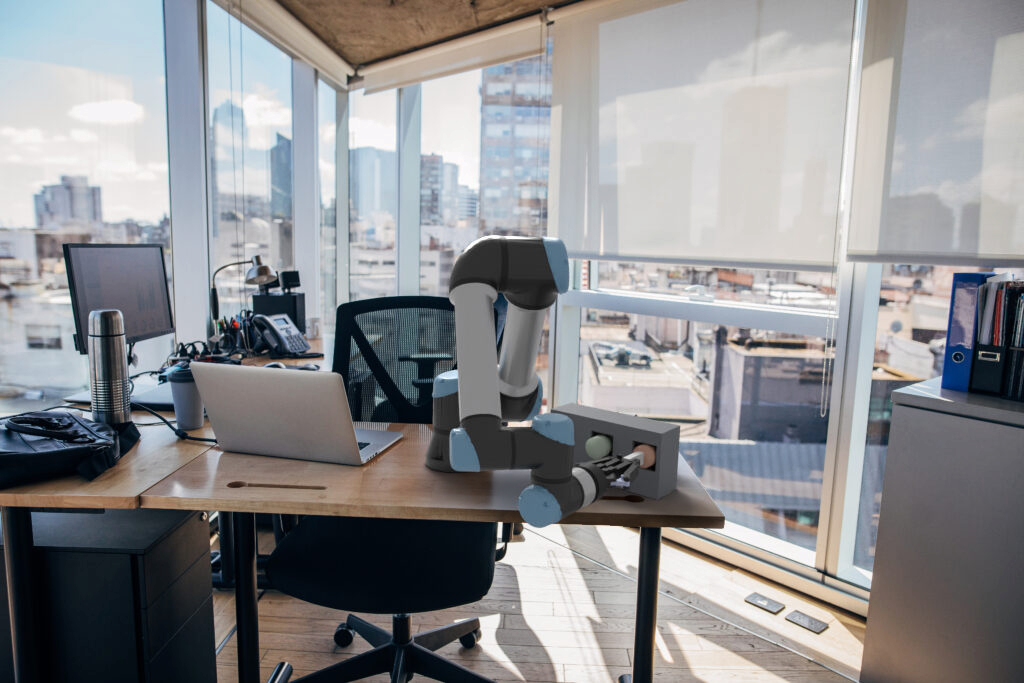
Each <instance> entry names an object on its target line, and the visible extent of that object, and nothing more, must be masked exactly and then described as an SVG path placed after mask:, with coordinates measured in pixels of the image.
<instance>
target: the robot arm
mask: <svg viewBox="0 0 1024 683" xmlns="http://www.w3.org/2000/svg"><path fill="white" fill-rule="evenodd" d="M569 287H570V263H569V254H568V250H567V247H566V244H565V243H564V241H563V240H562V239H561V238H558V237H551V236H545V235H542V236H541V237H539V236H536V237H535V236H516V235H515V236H513V235H510V236H509V235H498V234H497V235H487V236H484V237H481V238H479V239H476V240H475V241H473V242H472V243H471V244H469V245H468V246H467V247H466V248H465V249H464V250H463V251H462V252H461V254H460V255H459V257H458V258H457V260H456V261H455V263H454V265H453V268H452V270H451V274H450V278H449V281H448V297H449V298H448V299H449V302H450V303H451V305H453V306H454V318H455V323H454V324H455V337H456V338H455V339H456V342H455V343H456V364H457V366H456V367H457V369H454V370H448V371H445V372H443V373H440V374H438V375H437V376H435V378H434V380H433V386H432V387H433V389H432V393H431V396H432V398H433V399H432V400H433V401H432V402H433V403H432V410H433V411H432V435H431V437H430V440H429V443H428V446H427V448H426V453H425V465H426V466H427V467H428V468H430V469H432V470H435V471H437V472H444V473H466V472H475V473H478V472H489V471H490V472H494V471H508V470H509V471H520V470H521V471H523V470H530V485H529V486H526V488H525V489H523V490H522V491H521V493H520V495H519V497H518V501H517V507H518V510H519V513H520V516H521V518H522V519H523V521H524V522H526V523H527V524H528V525H529V526H531V527H534V528H536V529H542V528H545V527H546V528H547V527H548V526H550V525H554V524H557V523H558V522H560V521H561V520H563V519H565V518H566V517H568V516H570V515H571V514H573V513H576V512H577V511H579V510H581V509H583V508H585V507H587V506H588V505H591V504H594V503H595V502H597V501H598V500H601V499H602V498H603V497H604V496H605V495H606V493H607V492H608V490H613V489H616V486H620V487H623V489H624V491H627V490H629V489H630V484H631V483H632V482H633V481H634V480H635V479H636V477H637V476H638V471H639V467H640V466H641V465H643V463H644V452H641V451H637V452H634V453H632V454H630V455H628V456H625V457H623V458H622V455H620V454H617V458H616V459H613V457H611V456H610V457H605V458H601V459H597V460H593V461H589V462H584V463H576V464H575V467H574V468H573V453H574V445H575V442H574V424H573V421H572V420H571V419H570V418H569V417H568V416H566V415H562V414H557V413H550V412H545V413H540V411H541V408H542V404H543V400H542V399H543V396H544V389H543V388H544V387H543V382H542V379H541V377H540V376H539V375H538V373H537V372H536V370H535V368H536V363H537V358H538V354H539V348H540V345H541V339H542V334H543V330H544V323H545V320H546V315H547V310H548V309H550V308H551V307H552V306H554V304H555V302H556V300H557V298H558V297H557V296H558V295H563V294H566V293H567V292H568V291H569ZM498 294H503V296H504V298H505V300H506V302H507V307H506V308H507V310H506V316H505V323H504V330H503V337H502V344H501V350H500V356H499V362H498V353H497V352H498V351H497V339H496V338H497V337H496V326H495V313H494V312H495V311H494V303H495V302H496V301H497V300H498V296H499V295H498ZM530 421H531V425H530V426H509V427H506V426H505V427H504V426H503V423H523V422H530ZM606 462H607V463H606ZM623 489H622V490H623Z"/></svg>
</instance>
